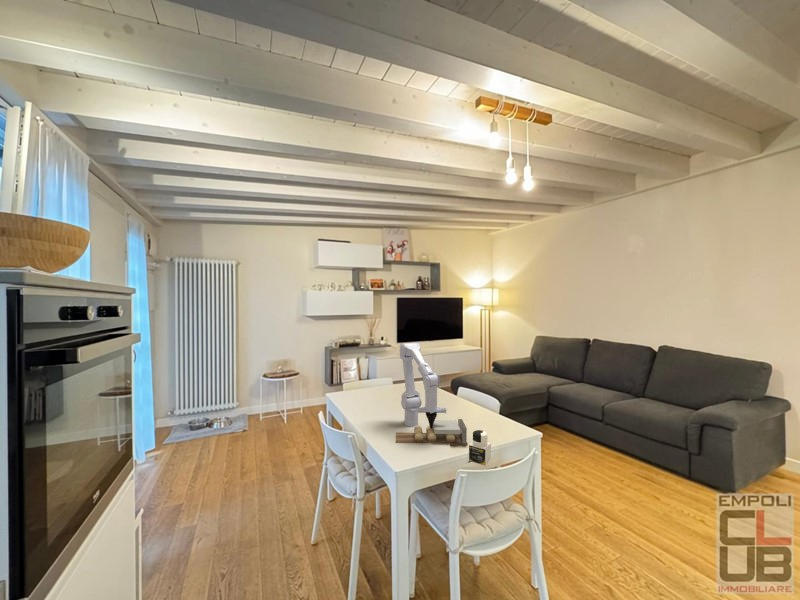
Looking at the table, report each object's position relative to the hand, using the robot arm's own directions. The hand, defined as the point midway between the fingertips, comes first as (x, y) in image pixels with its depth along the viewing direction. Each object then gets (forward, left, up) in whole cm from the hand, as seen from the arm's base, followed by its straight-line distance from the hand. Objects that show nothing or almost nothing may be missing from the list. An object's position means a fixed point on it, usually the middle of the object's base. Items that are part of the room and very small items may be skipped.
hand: (431, 427), depth 162 cm
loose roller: (0, +8, -5) cm, 10 cm away
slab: (0, +7, -1) cm, 7 cm away
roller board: (0, 0, -6) cm, 6 cm away
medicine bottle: (+20, +19, -6) cm, 28 cm away
